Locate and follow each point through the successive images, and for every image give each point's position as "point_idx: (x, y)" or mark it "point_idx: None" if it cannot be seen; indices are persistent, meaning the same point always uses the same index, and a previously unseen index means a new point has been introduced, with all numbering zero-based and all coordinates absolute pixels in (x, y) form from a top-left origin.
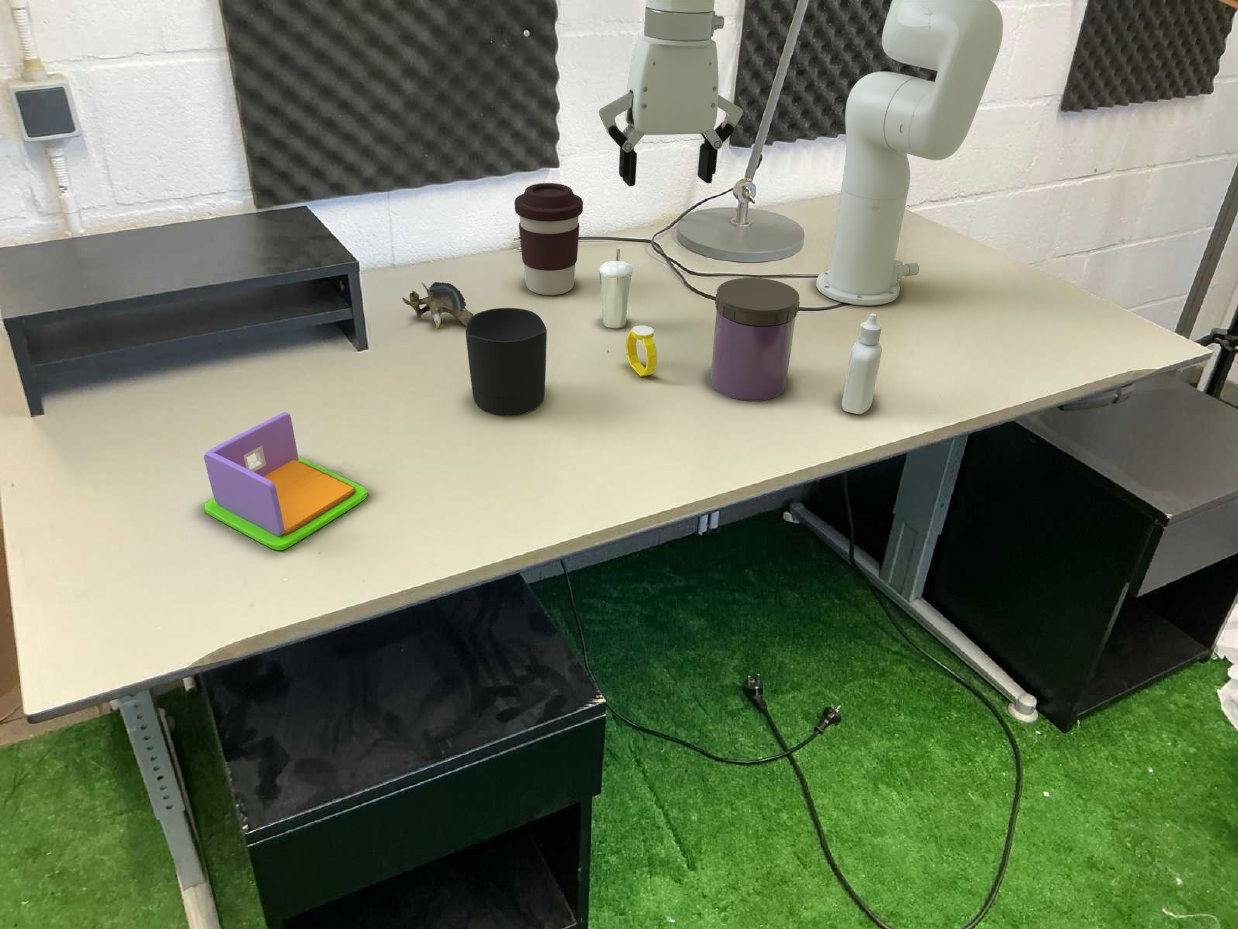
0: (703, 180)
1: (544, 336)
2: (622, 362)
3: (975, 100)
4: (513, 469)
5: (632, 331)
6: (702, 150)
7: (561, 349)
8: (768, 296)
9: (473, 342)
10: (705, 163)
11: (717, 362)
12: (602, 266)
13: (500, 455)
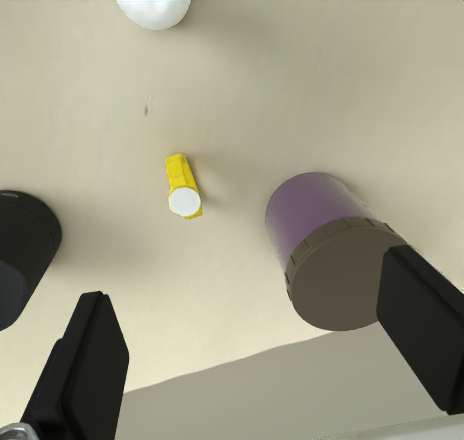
0: (377, 300)
1: (27, 300)
2: (164, 147)
3: None
4: (47, 336)
5: (168, 204)
6: (447, 348)
7: (72, 94)
8: (363, 295)
9: None
10: (411, 349)
11: (272, 242)
12: None
13: (31, 318)
